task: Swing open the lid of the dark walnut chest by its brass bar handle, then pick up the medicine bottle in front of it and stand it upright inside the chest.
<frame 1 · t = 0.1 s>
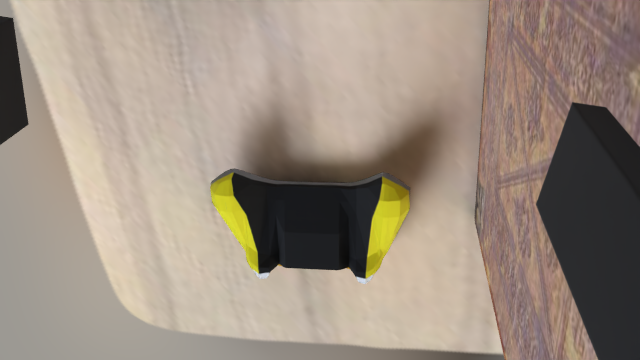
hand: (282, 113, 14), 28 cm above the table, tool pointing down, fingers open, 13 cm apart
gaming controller: (316, 202, 48), on the table
book: (550, 67, 41), on the table
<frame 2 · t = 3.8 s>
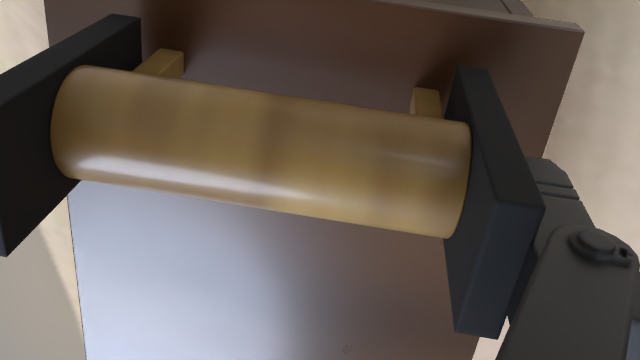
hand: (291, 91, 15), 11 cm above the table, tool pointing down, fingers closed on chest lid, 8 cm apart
chest: (311, 164, 28), on the table
chest lid: (261, 337, 17), point 12 cm above the table, hinge at 0.0°, touching gripper
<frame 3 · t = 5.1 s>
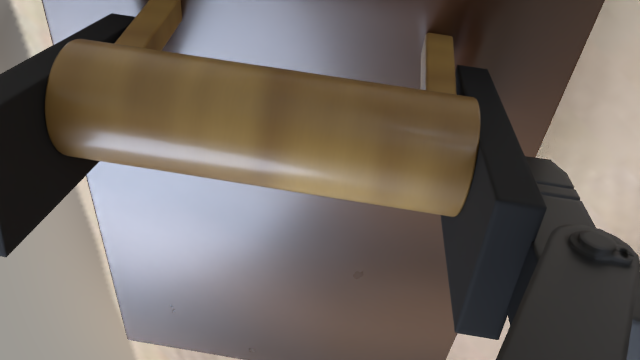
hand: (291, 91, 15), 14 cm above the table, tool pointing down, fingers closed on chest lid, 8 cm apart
chest lid: (274, 274, 18), point 14 cm above the table, hinge at 13.5°, touching gripper
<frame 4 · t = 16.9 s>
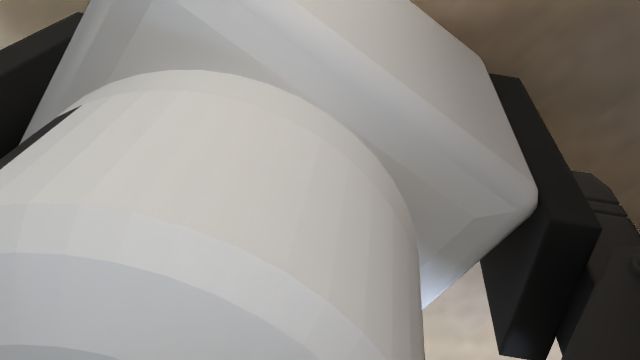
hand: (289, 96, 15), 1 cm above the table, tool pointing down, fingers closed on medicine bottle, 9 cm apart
medicine bottle: (296, 80, 16), on the table, touching gripper
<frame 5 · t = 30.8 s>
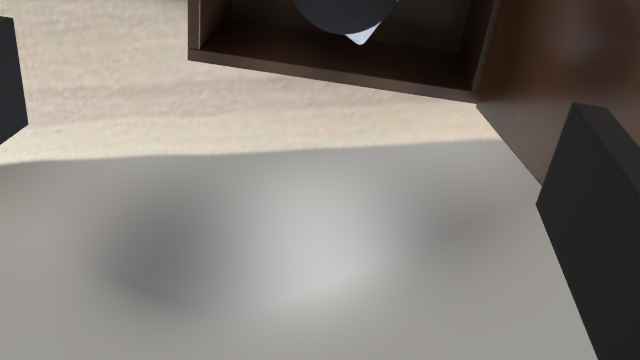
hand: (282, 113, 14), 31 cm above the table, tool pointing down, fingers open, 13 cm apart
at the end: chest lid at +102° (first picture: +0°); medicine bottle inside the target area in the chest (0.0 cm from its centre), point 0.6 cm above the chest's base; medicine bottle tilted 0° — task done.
